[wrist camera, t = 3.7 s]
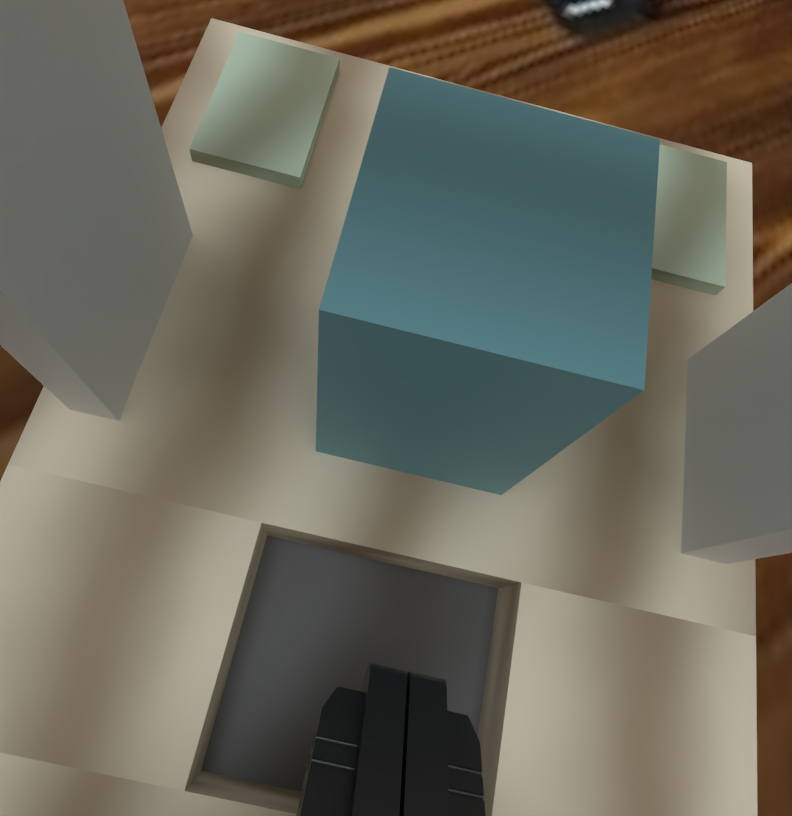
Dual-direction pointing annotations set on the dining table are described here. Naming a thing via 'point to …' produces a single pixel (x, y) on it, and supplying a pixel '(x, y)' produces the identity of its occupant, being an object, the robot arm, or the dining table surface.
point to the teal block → (484, 286)
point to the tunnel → (171, 234)
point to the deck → (360, 519)
